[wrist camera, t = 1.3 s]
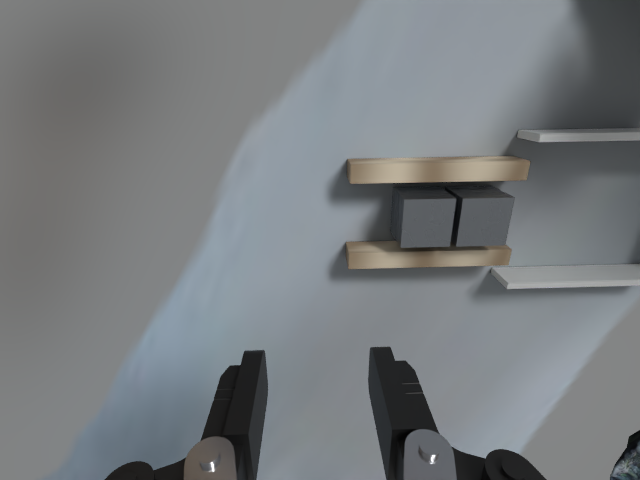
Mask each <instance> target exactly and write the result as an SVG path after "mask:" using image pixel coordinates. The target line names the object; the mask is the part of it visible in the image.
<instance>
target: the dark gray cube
mask: <svg viewBox="0 0 640 480" xmlns="http://www.w3.org/2000/svg"><path fill="white" fill-rule="evenodd" d="M444 190H445V191H446V192H448V193H449V194H451V195H452V196H453V197H455V198H456V205H455V212H454V220H453V227H452V234H451V242H452V243H453V244H454V245H455V246H456V247H462V246H503V245H505V243H506V238H507V233H508V228H509V223H510V218H511V213H512V208H513V203H514V198H515V197H513V196H511V195H509V194H507V193H505V192H503V191H501V190H499V189H497V188H495V187H493V186H491V185H486V186H445V188H444Z"/></svg>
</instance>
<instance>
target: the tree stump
mask: <svg viewBox="0 0 640 480" xmlns="http://www.w3.org/2000/svg"><path fill="white" fill-rule="evenodd" d="M610 480H640V430H639V431H637V432H636V433H634V434H632V435H631V436H629V439H628V444H627V448H626V449H625V451H624V452H623V454H622V455H621V457H620V458H619V459H618V461H617V462H616V464H615V466H614V469H613V471H612V474H611V477H610Z"/></svg>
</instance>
